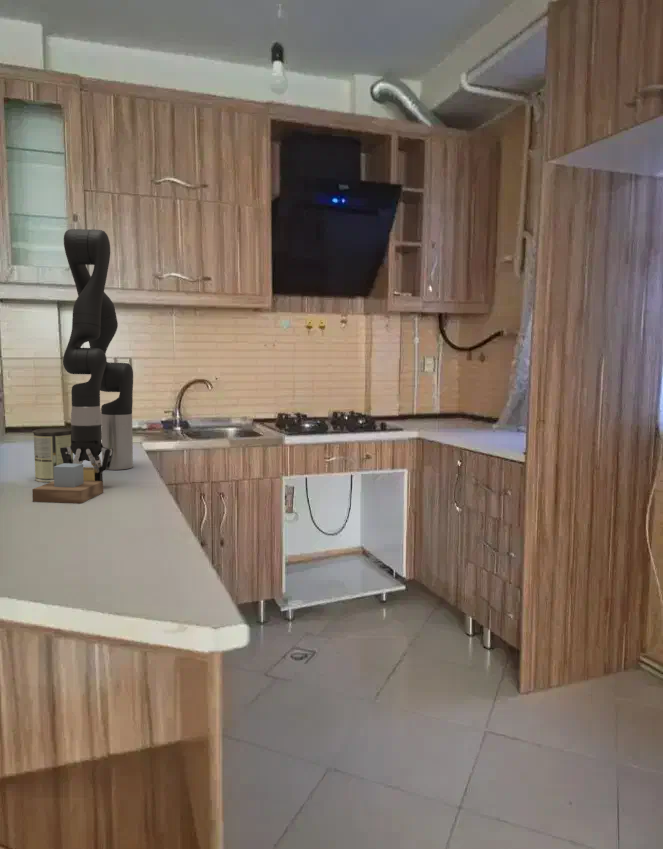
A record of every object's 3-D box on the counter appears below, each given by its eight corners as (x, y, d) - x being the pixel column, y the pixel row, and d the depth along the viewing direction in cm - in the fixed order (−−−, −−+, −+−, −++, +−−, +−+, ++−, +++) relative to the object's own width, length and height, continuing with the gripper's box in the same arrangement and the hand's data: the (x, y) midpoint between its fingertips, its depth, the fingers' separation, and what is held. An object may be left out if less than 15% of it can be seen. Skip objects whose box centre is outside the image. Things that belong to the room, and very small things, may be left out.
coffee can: (47, 474, 178) (46, 427, 176) (80, 476, 177) (79, 428, 175) (26, 481, 168) (25, 431, 166) (61, 483, 167) (60, 432, 165)
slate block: (64, 482, 153) (63, 463, 152) (83, 483, 153) (83, 463, 152) (54, 486, 148) (53, 466, 147) (74, 487, 148) (73, 467, 147)
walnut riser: (58, 490, 157) (58, 479, 157) (103, 492, 156) (102, 481, 156) (32, 501, 145) (32, 489, 145) (81, 503, 144) (81, 490, 144)
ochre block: (82, 485, 165) (82, 467, 165) (100, 485, 165) (100, 467, 164) (74, 488, 160) (73, 470, 160) (92, 489, 160) (92, 470, 159)
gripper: (118, 422, 164) (119, 483, 166) (67, 420, 165) (68, 482, 167) (106, 425, 157) (107, 489, 158) (52, 423, 157) (54, 487, 159)
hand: (87, 485), depth 163 cm, fingers closed on ochre block, 5 cm apart
